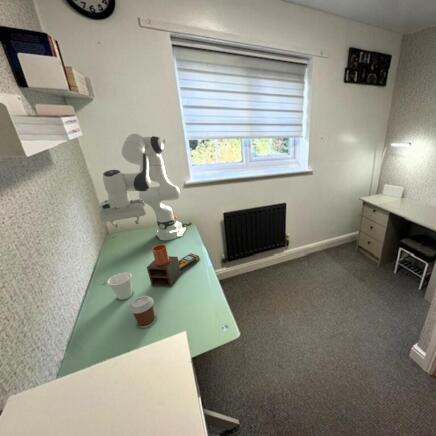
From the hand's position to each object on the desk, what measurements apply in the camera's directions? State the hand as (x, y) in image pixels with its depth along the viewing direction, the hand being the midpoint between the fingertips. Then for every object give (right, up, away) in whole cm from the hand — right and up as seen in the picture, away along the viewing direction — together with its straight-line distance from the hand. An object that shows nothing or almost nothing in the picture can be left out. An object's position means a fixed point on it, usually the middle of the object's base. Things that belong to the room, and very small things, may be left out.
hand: (127, 225), depth 129 cm
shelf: (+20, -31, +3) cm, 37 cm away
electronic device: (+24, -25, +17) cm, 39 cm away
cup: (+5, -36, -9) cm, 37 cm away
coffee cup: (+25, -43, -23) cm, 55 cm away
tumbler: (+20, -20, -1) cm, 28 cm away
